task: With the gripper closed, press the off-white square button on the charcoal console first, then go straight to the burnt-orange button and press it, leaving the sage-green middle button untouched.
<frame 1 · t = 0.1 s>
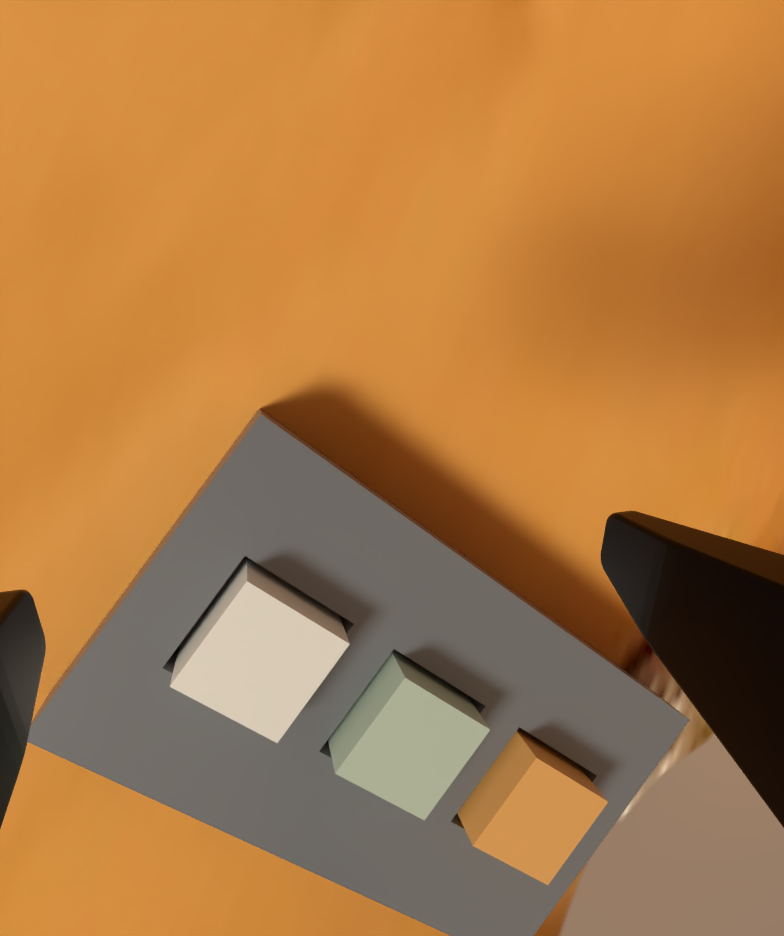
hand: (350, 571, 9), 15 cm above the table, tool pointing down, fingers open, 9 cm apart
orange button: (526, 798, 26), point 3 cm above the table, slide at 0.0 cm
off white button: (261, 645, 22), point 3 cm above the table, slide at 0.0 cm
console: (387, 689, 27), on the table
sage button: (404, 728, 24), point 3 cm above the table, slide at 0.0 cm
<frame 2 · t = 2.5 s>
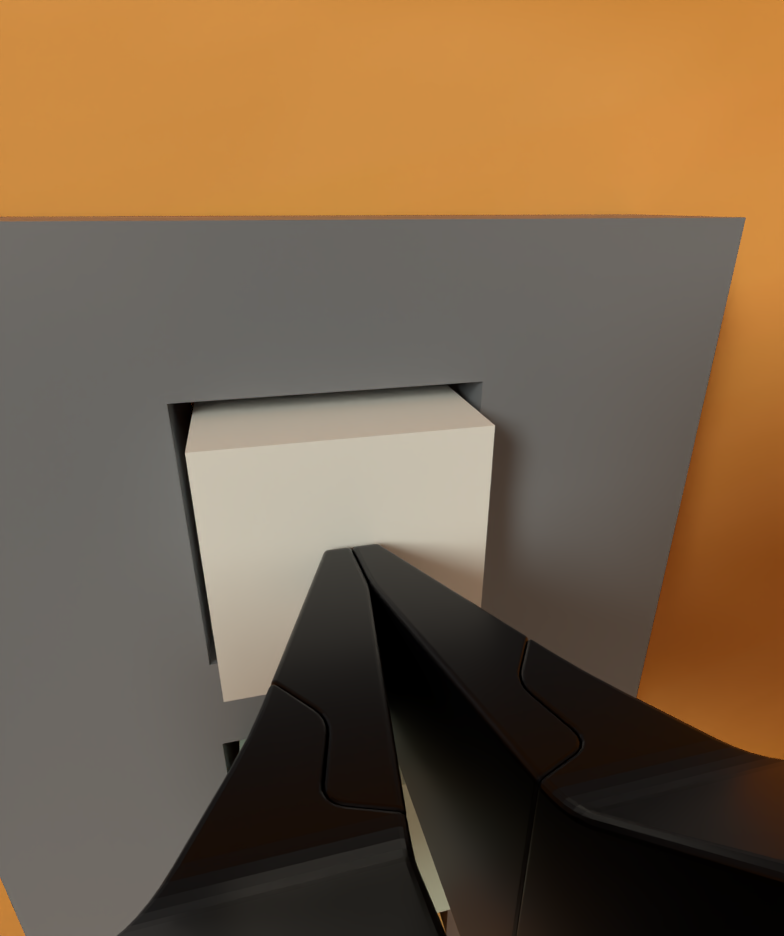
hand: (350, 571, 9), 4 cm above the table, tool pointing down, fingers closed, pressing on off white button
off white button: (337, 523, 10), point 3 cm above the table, slide at 0.2 cm, touching gripper
console: (330, 701, 16), on the table
sage button: (351, 801, 13), point 3 cm above the table, slide at 0.0 cm
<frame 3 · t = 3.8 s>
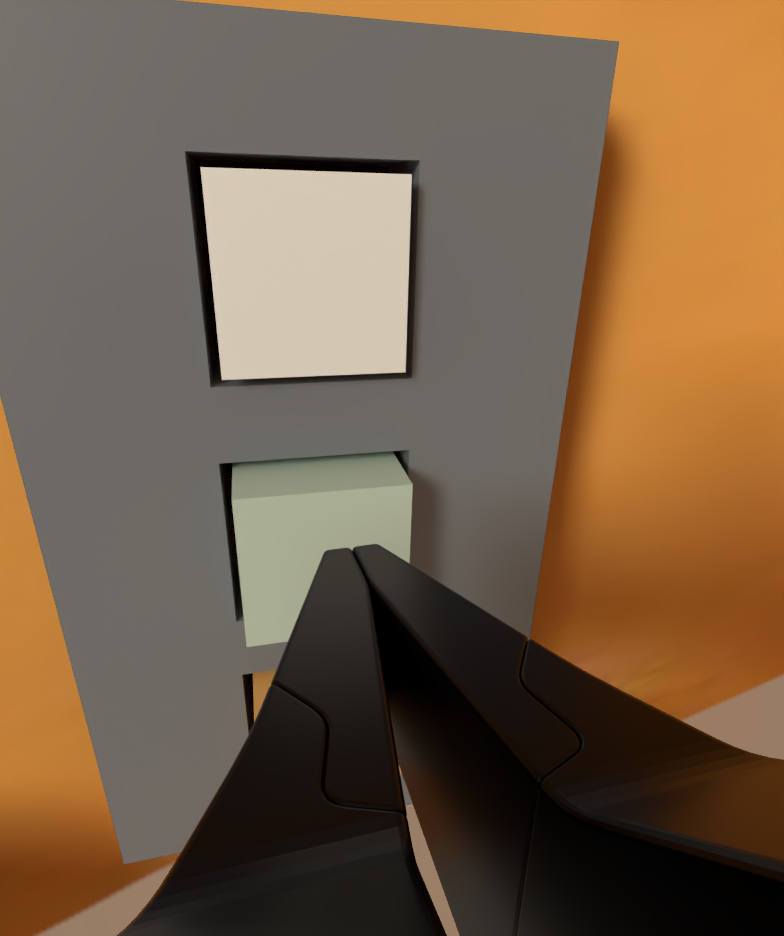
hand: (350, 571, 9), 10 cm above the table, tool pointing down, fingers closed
orange button: (326, 721, 19), point 3 cm above the table, slide at 0.0 cm
off white button: (306, 272, 15), point 2 cm above the table, slide at 1.0 cm
console: (308, 491, 19), on the table
sage button: (320, 538, 16), point 3 cm above the table, slide at 0.0 cm
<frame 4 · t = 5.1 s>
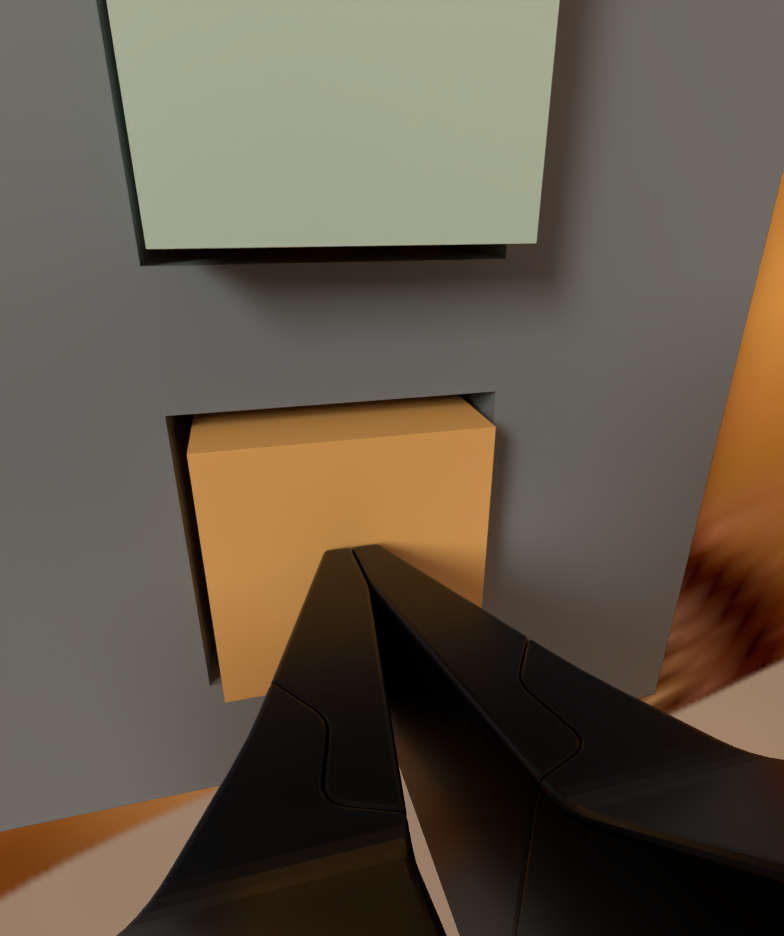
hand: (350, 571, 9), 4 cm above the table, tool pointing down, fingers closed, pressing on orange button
orange button: (338, 524, 11), point 2 cm above the table, slide at 0.7 cm, touching gripper
console: (301, 85, 10), on the table
sage button: (327, 40, 7), point 3 cm above the table, slide at 0.0 cm
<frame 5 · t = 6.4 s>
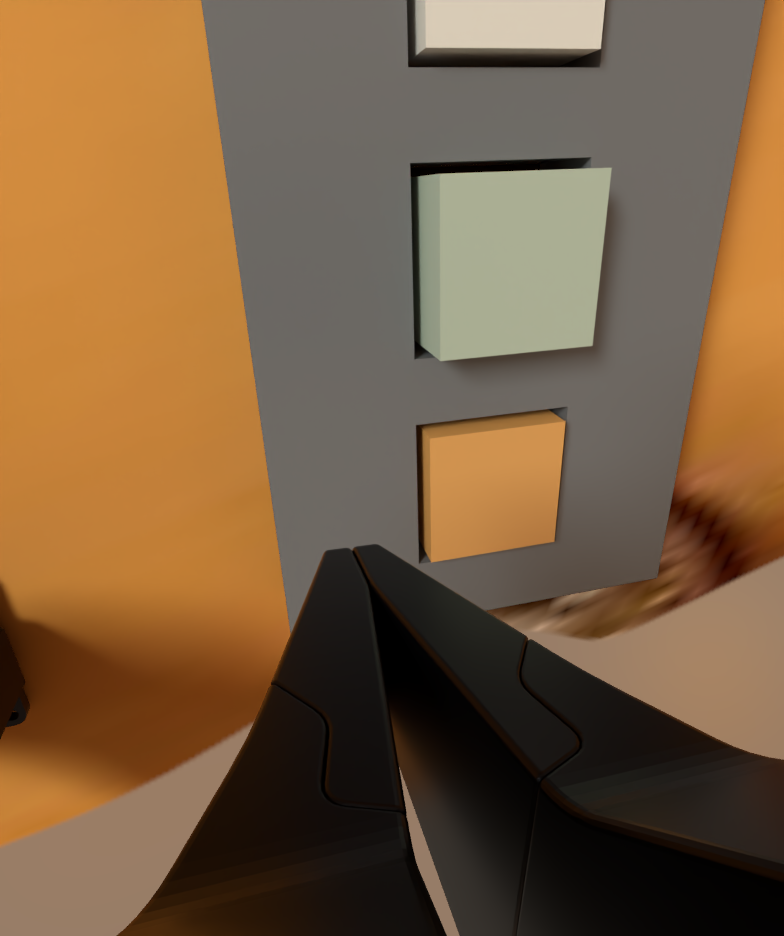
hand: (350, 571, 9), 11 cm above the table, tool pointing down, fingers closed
orange button: (479, 474, 20), point 2 cm above the table, slide at 1.0 cm
console: (463, 253, 19), on the table
sage button: (499, 262, 16), point 3 cm above the table, slide at 0.0 cm
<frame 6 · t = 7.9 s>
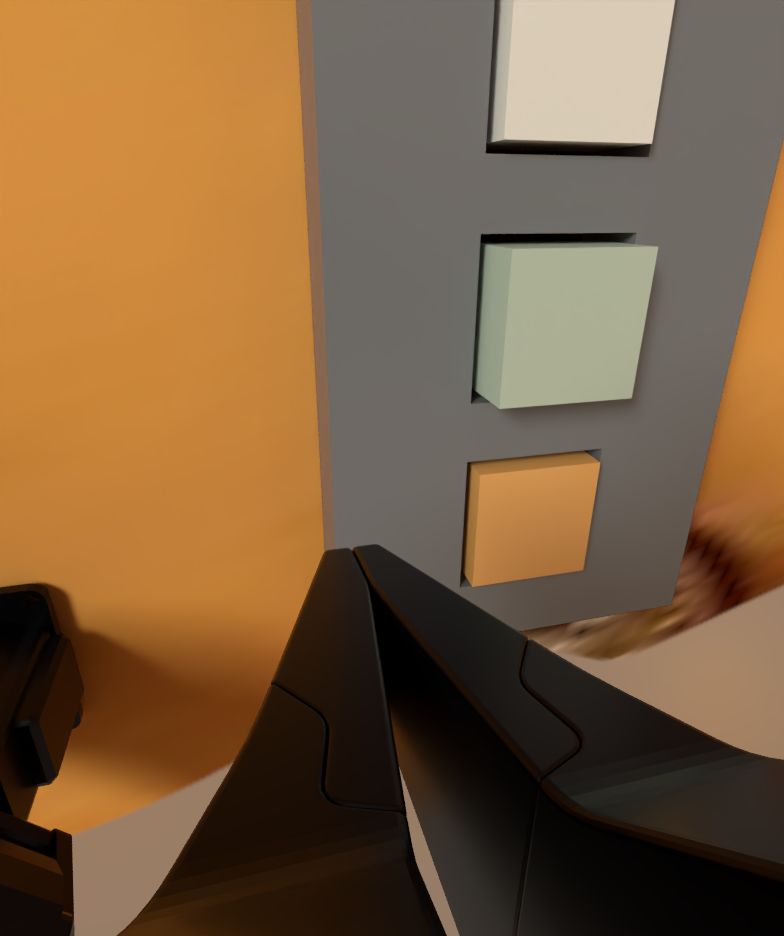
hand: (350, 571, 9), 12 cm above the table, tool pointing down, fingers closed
orange button: (516, 506, 22), point 2 cm above the table, slide at 1.0 cm
off white button: (562, 55, 16), point 2 cm above the table, slide at 1.0 cm
console: (510, 305, 21), on the table
sage button: (551, 320, 18), point 3 cm above the table, slide at 0.0 cm
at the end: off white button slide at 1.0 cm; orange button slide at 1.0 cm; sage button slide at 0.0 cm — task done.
